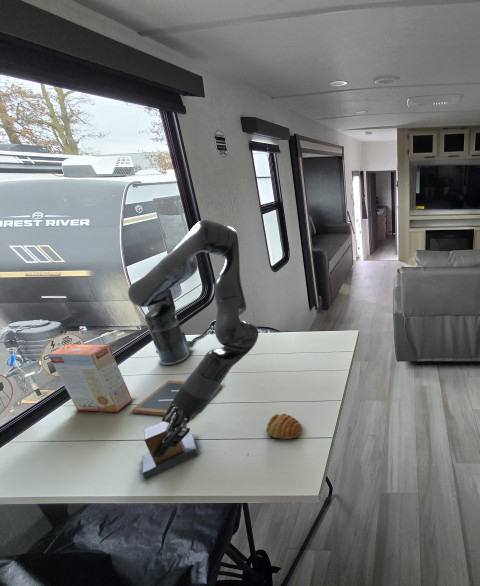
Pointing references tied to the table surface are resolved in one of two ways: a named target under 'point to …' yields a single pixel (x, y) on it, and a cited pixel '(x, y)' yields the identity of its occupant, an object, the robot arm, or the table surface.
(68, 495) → the table surface
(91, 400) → the cracker box
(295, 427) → the pastry
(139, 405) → the board
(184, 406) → the robot arm
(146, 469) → the eraser
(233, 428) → the table surface
